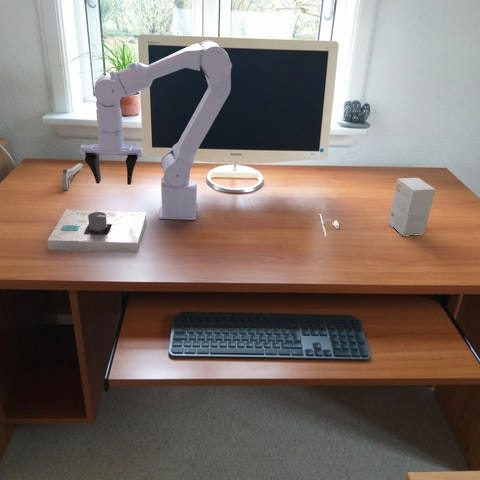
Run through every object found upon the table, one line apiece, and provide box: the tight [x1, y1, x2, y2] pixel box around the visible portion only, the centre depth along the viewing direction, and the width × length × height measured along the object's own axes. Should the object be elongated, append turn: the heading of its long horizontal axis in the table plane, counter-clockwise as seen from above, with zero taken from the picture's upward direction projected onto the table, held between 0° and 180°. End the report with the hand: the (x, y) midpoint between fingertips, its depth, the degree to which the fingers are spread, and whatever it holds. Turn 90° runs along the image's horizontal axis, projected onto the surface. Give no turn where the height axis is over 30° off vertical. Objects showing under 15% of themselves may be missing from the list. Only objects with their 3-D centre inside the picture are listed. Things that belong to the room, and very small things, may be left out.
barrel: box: [88, 212, 109, 235], centre depth 118 cm, size 4×4×6 cm
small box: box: [387, 177, 436, 237], centre depth 130 cm, size 8×6×13 cm
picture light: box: [318, 213, 340, 238], centre depth 132 cm, size 14×4×2 cm, turn 178°
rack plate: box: [46, 208, 148, 253], centre depth 121 cm, size 20×16×3 cm
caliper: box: [62, 163, 84, 191], centre depth 150 cm, size 20×1×6 cm, turn 4°
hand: (114, 182), depth 126 cm, fingers open, 7 cm apart
